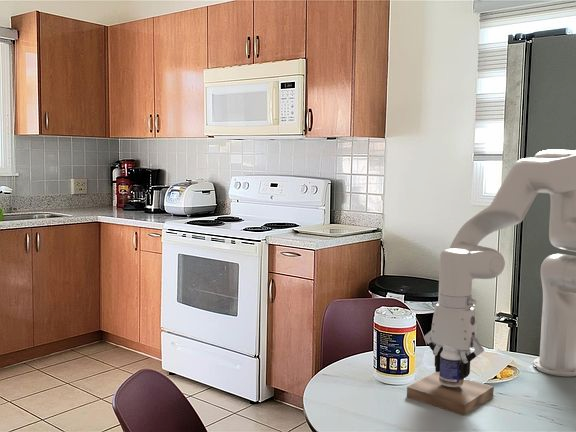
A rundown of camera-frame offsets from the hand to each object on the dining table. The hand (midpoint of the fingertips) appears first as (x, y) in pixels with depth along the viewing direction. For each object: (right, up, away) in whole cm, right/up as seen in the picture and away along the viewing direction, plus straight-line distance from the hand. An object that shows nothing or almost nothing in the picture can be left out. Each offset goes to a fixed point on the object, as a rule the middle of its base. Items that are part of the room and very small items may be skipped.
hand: (451, 373), depth 152 cm
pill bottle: (0, -3, 0) cm, 3 cm away
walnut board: (0, -6, +1) cm, 6 cm away
